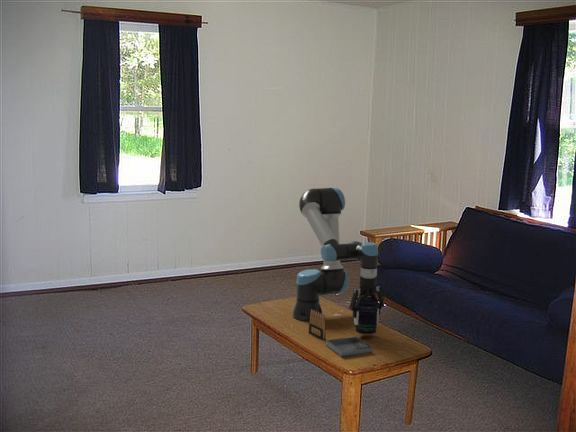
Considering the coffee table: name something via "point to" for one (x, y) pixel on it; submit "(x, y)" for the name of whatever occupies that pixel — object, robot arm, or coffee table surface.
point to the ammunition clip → (317, 325)
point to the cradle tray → (349, 346)
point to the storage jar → (367, 316)
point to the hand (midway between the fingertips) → (366, 322)
